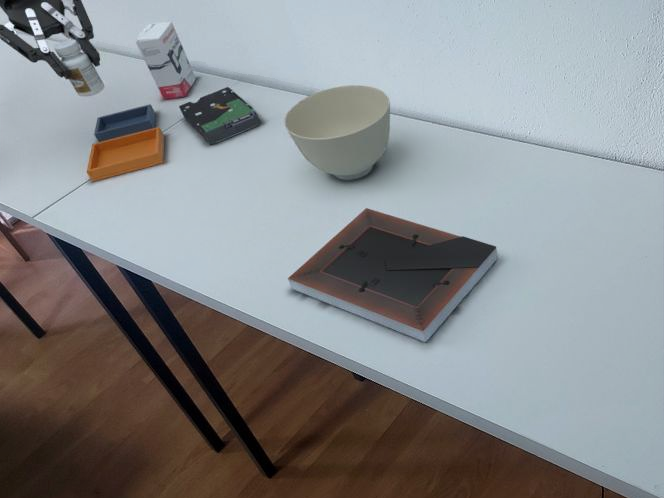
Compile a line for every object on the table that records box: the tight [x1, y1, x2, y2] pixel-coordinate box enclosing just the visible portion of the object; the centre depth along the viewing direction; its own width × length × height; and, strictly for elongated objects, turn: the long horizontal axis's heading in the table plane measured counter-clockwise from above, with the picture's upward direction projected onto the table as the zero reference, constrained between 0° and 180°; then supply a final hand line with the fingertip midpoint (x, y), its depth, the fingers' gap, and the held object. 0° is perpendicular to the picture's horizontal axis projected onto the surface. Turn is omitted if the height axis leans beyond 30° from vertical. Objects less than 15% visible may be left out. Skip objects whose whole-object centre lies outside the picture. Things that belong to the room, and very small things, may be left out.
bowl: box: [283, 84, 391, 181], centre depth 99 cm, size 16×16×10 cm
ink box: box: [135, 21, 197, 100], centre depth 128 cm, size 8×5×12 cm, turn 1°
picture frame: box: [287, 207, 498, 343], centre depth 82 cm, size 16×2×22 cm
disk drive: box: [178, 86, 262, 145], centre depth 119 cm, size 10×3×15 cm
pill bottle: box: [53, 39, 105, 98], centre depth 103 cm, size 4×4×8 cm
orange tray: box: [86, 126, 165, 182], centre depth 114 cm, size 12×10×2 cm
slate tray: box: [93, 103, 156, 143], centre depth 122 cm, size 10×7×2 cm
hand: (83, 69), depth 102 cm, fingers closed on pill bottle, 4 cm apart
